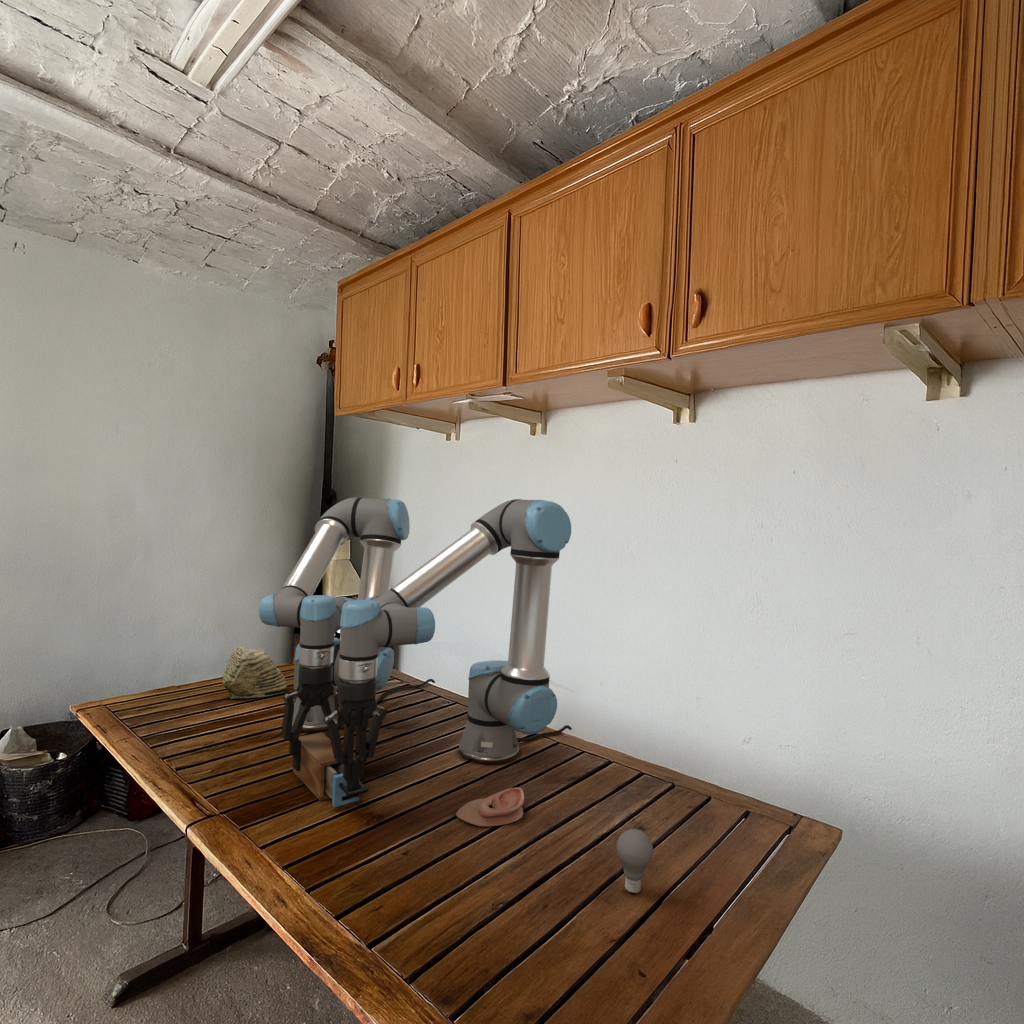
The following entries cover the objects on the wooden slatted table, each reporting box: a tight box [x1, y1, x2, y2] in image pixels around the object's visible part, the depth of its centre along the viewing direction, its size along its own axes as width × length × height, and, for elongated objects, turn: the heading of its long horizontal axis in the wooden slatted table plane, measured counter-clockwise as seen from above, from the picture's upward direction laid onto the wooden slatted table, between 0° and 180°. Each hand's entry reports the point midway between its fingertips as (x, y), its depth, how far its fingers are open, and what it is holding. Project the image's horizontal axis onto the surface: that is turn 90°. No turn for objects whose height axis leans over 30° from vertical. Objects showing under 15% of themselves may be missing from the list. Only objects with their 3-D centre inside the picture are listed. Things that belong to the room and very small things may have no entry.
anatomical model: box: [455, 786, 525, 827], centre depth 129 cm, size 13×4×12 cm
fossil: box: [222, 646, 288, 699], centre depth 198 cm, size 9×18×15 cm, turn 132°
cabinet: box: [292, 731, 338, 801], centre depth 141 cm, size 16×7×8 cm, turn 38°
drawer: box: [324, 763, 370, 808], centre depth 133 cm, size 21×5×6 cm, turn 38°
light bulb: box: [615, 828, 654, 894], centre depth 106 cm, size 6×6×10 cm
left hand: (312, 764), depth 144 cm, fingers closed on cabinet, 7 cm apart
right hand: (352, 794), depth 127 cm, fingers closed
